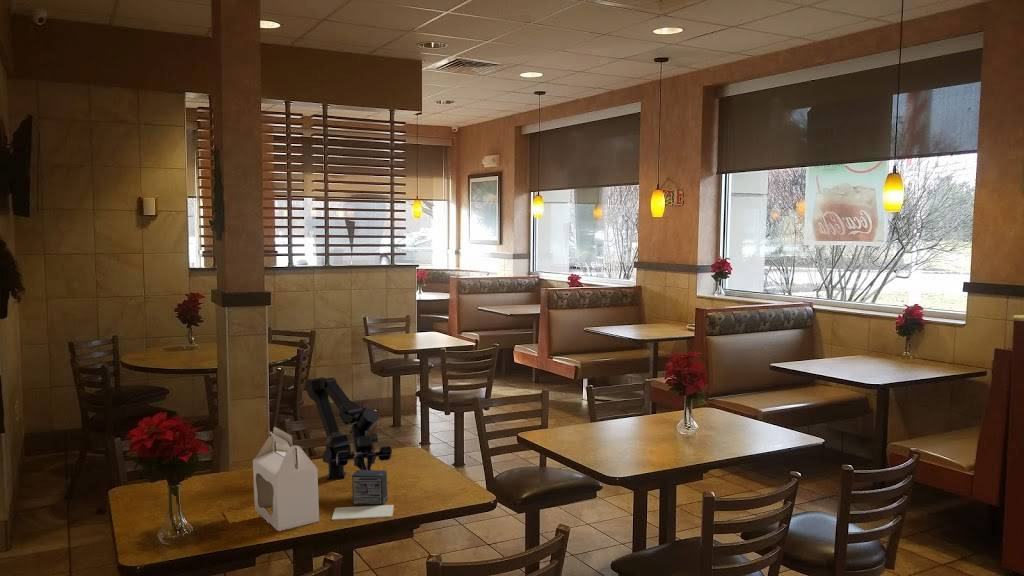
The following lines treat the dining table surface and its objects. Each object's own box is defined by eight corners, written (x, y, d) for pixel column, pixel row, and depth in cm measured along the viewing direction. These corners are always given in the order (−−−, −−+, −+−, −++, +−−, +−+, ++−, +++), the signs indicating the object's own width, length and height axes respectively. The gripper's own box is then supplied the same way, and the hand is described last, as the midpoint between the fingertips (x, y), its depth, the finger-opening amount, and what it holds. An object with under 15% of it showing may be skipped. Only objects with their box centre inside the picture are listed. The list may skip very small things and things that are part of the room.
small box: (388, 499, 258) (387, 469, 258) (383, 506, 252) (382, 475, 251) (358, 499, 259) (357, 469, 259) (352, 505, 253) (351, 475, 252)
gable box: (254, 511, 249) (250, 427, 247) (293, 502, 257) (290, 421, 255) (278, 532, 231) (275, 442, 229) (319, 521, 239) (316, 434, 237)
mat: (335, 509, 250) (335, 507, 250) (393, 505, 252) (393, 504, 252) (331, 520, 240) (331, 519, 240) (392, 517, 242) (392, 515, 242)
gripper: (336, 428, 260) (342, 469, 250) (390, 422, 266) (397, 462, 257) (333, 445, 268) (339, 485, 258) (386, 439, 274) (393, 478, 265)
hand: (367, 477), depth 259 cm, fingers closed
